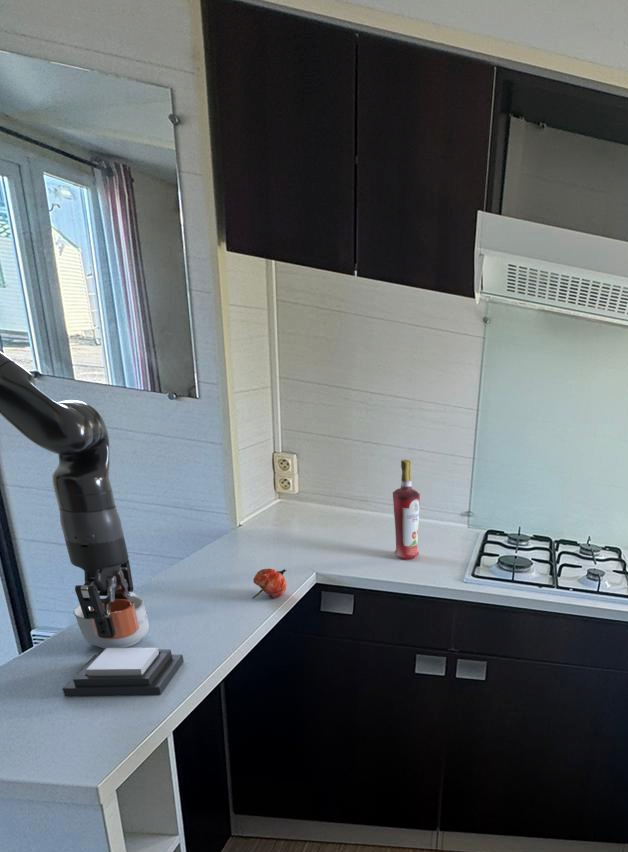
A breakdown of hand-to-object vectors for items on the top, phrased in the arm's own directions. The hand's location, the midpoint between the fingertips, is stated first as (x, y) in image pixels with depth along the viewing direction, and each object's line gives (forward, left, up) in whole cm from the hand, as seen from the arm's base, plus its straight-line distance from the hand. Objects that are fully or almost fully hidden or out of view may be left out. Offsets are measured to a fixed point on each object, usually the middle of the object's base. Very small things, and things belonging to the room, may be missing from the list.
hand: (116, 627), depth 107 cm
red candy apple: (+16, +38, -10) cm, 42 cm away
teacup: (-6, +16, -10) cm, 20 cm away
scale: (0, 0, -10) cm, 10 cm away
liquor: (+46, +70, -10) cm, 84 cm away
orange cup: (0, 0, -1) cm, 1 cm away
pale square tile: (0, 0, -8) cm, 8 cm away
